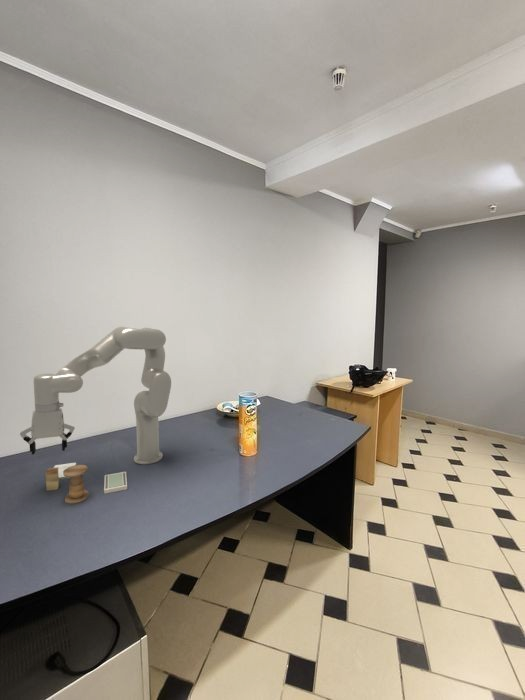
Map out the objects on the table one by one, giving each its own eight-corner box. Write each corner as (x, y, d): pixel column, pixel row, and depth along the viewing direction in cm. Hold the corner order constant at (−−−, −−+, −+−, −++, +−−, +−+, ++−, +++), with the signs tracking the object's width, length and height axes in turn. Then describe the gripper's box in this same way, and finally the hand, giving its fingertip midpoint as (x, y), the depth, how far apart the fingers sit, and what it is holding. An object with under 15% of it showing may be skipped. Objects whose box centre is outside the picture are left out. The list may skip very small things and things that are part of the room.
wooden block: (48, 486, 129) (47, 468, 128) (59, 484, 130) (58, 467, 130) (46, 491, 126) (45, 473, 125) (57, 489, 127) (56, 471, 126)
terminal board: (104, 478, 135) (104, 474, 135) (126, 474, 139) (125, 471, 138) (104, 493, 125) (104, 489, 124) (127, 489, 128) (127, 485, 128)
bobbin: (66, 494, 124) (64, 466, 122) (89, 490, 127) (88, 463, 125) (63, 505, 117) (61, 476, 115) (88, 500, 120) (86, 472, 119)
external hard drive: (48, 483, 132) (54, 468, 144) (71, 479, 135) (76, 465, 147) (47, 479, 132) (54, 465, 144) (71, 475, 135) (76, 462, 147)
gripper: (74, 402, 131) (76, 444, 133) (21, 406, 124) (23, 450, 126) (72, 407, 124) (74, 451, 126) (16, 412, 117) (18, 458, 119)
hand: (49, 451), depth 126 cm, fingers open, 9 cm apart
